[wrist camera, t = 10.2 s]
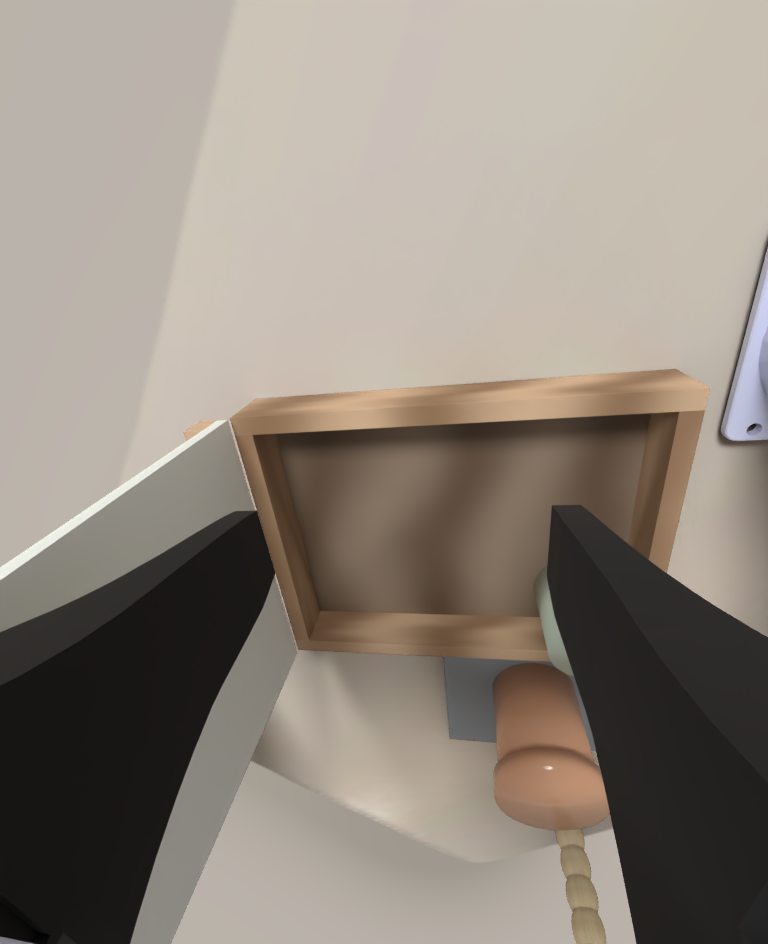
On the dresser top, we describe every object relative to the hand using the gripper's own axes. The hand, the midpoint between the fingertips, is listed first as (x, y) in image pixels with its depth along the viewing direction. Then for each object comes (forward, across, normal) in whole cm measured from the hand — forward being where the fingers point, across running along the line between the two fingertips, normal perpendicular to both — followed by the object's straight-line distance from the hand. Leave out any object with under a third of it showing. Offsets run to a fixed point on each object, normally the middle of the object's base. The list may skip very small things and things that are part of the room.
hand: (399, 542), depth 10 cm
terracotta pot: (+10, -5, +18) cm, 21 cm away
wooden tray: (+10, -1, +6) cm, 12 cm away
